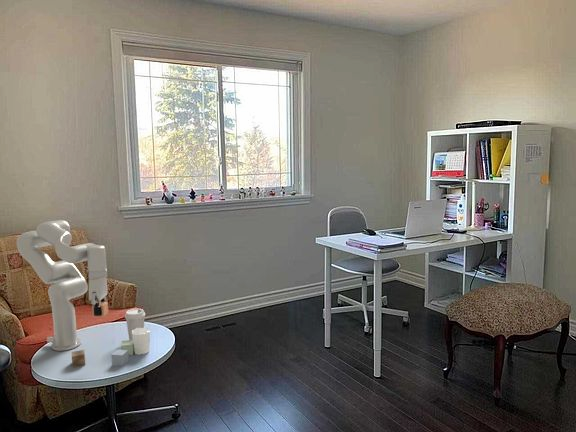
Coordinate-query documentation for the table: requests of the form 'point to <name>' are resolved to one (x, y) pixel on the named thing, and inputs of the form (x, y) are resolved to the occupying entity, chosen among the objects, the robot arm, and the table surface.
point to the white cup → (141, 340)
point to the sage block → (128, 346)
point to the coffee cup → (134, 320)
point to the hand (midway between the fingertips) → (100, 312)
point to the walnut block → (78, 358)
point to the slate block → (120, 357)
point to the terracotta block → (102, 308)
